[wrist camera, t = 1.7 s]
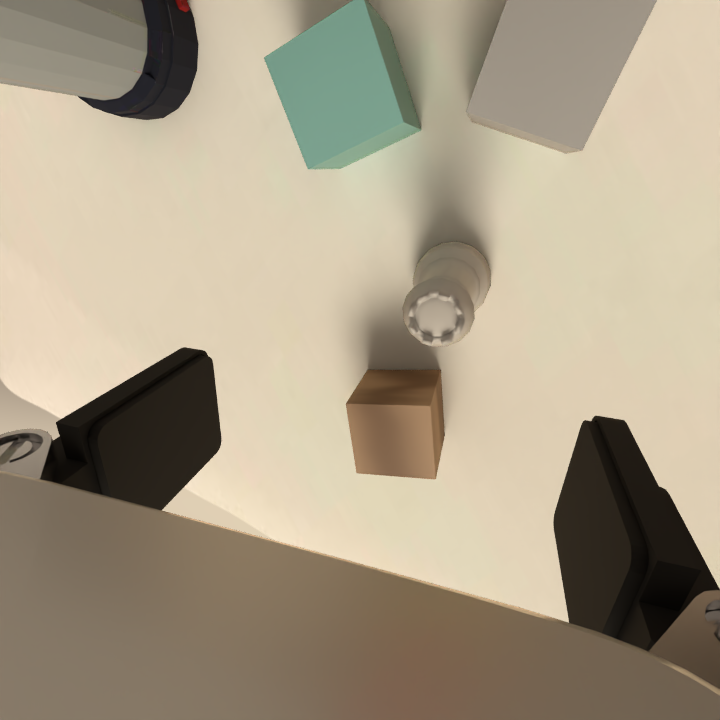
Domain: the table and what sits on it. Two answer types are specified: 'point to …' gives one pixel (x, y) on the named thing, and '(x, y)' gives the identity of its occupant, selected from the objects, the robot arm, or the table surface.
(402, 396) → the walnut cube
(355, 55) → the teal cube
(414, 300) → the rook chess piece
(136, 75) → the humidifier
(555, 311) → the table surface
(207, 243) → the table surface
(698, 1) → the table surface
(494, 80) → the grey cube
